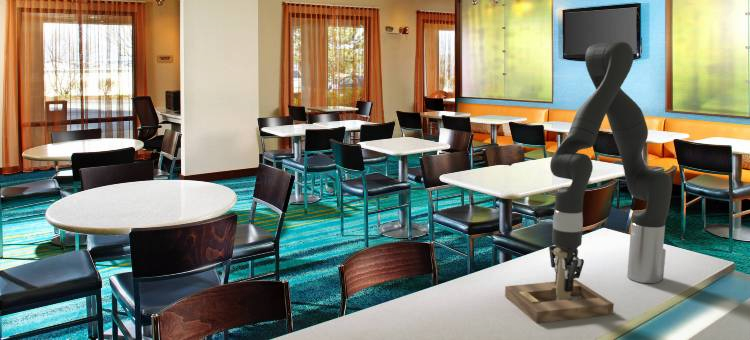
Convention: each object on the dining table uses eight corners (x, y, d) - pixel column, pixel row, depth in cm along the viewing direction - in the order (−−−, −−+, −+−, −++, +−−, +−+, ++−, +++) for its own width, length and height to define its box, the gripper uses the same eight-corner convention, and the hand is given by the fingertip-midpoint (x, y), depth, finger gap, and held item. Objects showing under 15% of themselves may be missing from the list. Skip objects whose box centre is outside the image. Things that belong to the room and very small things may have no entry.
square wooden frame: (575, 289, 177) (575, 278, 177) (612, 314, 160) (613, 302, 159) (505, 296, 172) (505, 285, 171) (536, 323, 155) (536, 310, 154)
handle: (578, 304, 165) (581, 251, 162) (558, 307, 163) (561, 253, 160) (567, 298, 169) (570, 246, 167) (547, 301, 167) (550, 248, 165)
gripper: (595, 233, 156) (591, 296, 160) (565, 219, 170) (562, 278, 173) (569, 235, 155) (565, 299, 158) (541, 220, 168) (538, 280, 171)
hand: (563, 287), depth 165 cm, fingers closed on handle, 4 cm apart
